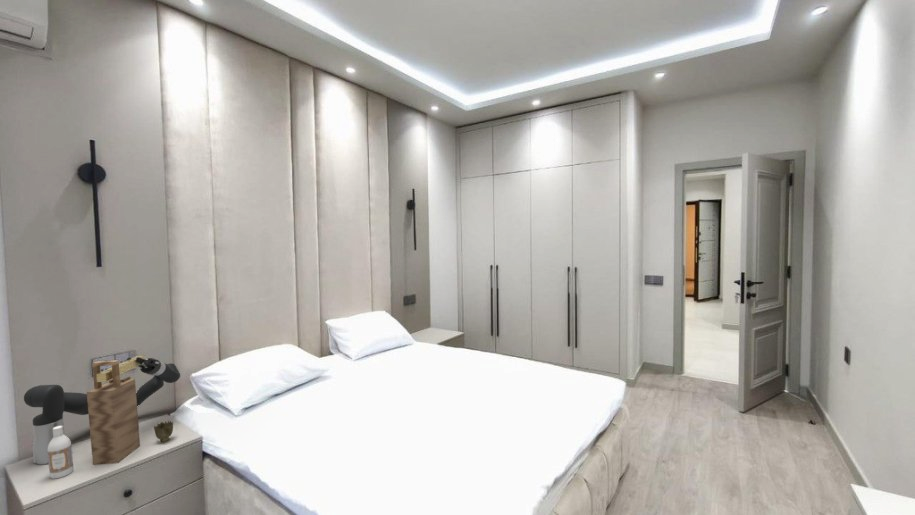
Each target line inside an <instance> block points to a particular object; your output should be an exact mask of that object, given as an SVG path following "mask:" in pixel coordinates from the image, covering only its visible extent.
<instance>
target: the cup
mask: <svg viewBox="0 0 915 515" xmlns="http://www.w3.org/2000/svg"><path fill="white" fill-rule="evenodd" d="M153 429H154V433H155V434H154V435H155V437H156V439H158V440H159V441H160V443H165V442H168V441H169V440H170V437H171V436H172V434H173V431H174V422H173V421H171V420H168V421H165V422H163V421H161V422H160V423H157V424H156V426H155V425H154V426H153Z"/></svg>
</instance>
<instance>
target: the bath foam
mask: <svg viewBox="0 0 915 515" xmlns="http://www.w3.org/2000/svg"><path fill="white" fill-rule="evenodd" d="M53 436H54V437H53V439H52V440H51V441H50V443H49V445H48V450H47V451H48V462H49V463H48V469H49V472H48V473H49V477H50V479H54V480H55V479H60V478H64V477H66V476H68V475H70V474H72V473H73V472H74V459H73V447H72V446H73V445H72V441H71V439H70V438H69V437H68V436H67V435H65V433H64V434H63V426H57V427H54V428H53Z"/></svg>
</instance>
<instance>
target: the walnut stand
mask: <svg viewBox="0 0 915 515" xmlns="http://www.w3.org/2000/svg"><path fill="white" fill-rule="evenodd" d="M119 361H120V360H119V359H117V360H116V359H115V360H103V361H102V360H100V361H99V360H98V361H93V362H91V364H92V374H93V376H92V377H93V387H94V388H93V389H91V390H89V391H87V392H86V394H87V402H88V413H89V414H88V422H89V423H88V424H89V436H90V446H91V457H92V459H91V460H92V465H93V466H98V465H108V464H110V465H111V464H119V463H121V462H122V461H123V460H124V459H125V458H127V457H128V456H129V455H131V454H132V453H133V452H134V451H136V450H137V449H138V448H140V446H141V442H140V441H141V439H140V428H139V427H140V426H139V416H138V415H139V414H138V407H137V399H136V392H137V388H136V387H137V386H136V379H135V378H131V376H127V377H125V378H123V379H121V375H120V373H119V364H120V362H119ZM103 366H104V367H105V366H106V367H107V366H111V367H112V376H113V378H112V379H110V380H108V381H106V382H105V383H104V384H102V383H103V382H97V375H96V374H98V373H100V372H102V371H101V367H103Z"/></svg>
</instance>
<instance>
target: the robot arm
mask: <svg viewBox="0 0 915 515" xmlns="http://www.w3.org/2000/svg"><path fill="white" fill-rule="evenodd" d="M129 359H131V357H127V358H126V360H125V361H127V360H129ZM136 362H138V363H141V365H139V366H137V367H136V368H138V369H139V370H140V371H141V372H142V373H144V374H147V375H150V376H153V377H152V378H151V379H149V380H148V381H146V382H144V383H143V384H144V385H143V384H142V385H140V387H139V388H138V389H139V390H138V389H137V390H136V392H137V393H136V399H137V406H138V405H139V406H140V405H142V404H143V402H145V401H146V400H147V399H148V398H149V397H151V396H152V395H153V394H155V393H156V392H157V391H159V390H161V389H162V388H163V387H164V385H165V383H167V384H173V383H176V382H177V381H178V380H180V378H181V373H180V371H179V369H178V368H177V366H176V364H175V363H166V362H162V361H161V360H159V359H156V358H154V357H147V358H146V357H145V358H144V359H142V358H140V357H137V358H136ZM164 382H165V383H164ZM23 401H24V403H25V405H27V406H28V407H30V408H42V413H39V414H38V415H36V416H35V417H33V419H32V430H33V438H34V439H33V441H32V442H31V447H32V456H33V457H32V458H33V459H32V460H33V464H37V465H46V464H49V462H48V451H47V450H48V445H49V443H50V441H51V440H52V439H53V437H54V436H53V428H54V427H57V426H63V434H64V435H65V425H64V415H63V414H64V413H70V414H73V415H79V416H80V415H81V416H86V415H89V413H88V402H87V393H83V392H82V393H81V392H73V391H70V392H65V391H64V388H63V387H62V386H61V385H60V384H40V385H37V386H33V387H31V388H29V389H28V390H26V392H25V393H24V395H23ZM139 406H138V407H139Z"/></svg>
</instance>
